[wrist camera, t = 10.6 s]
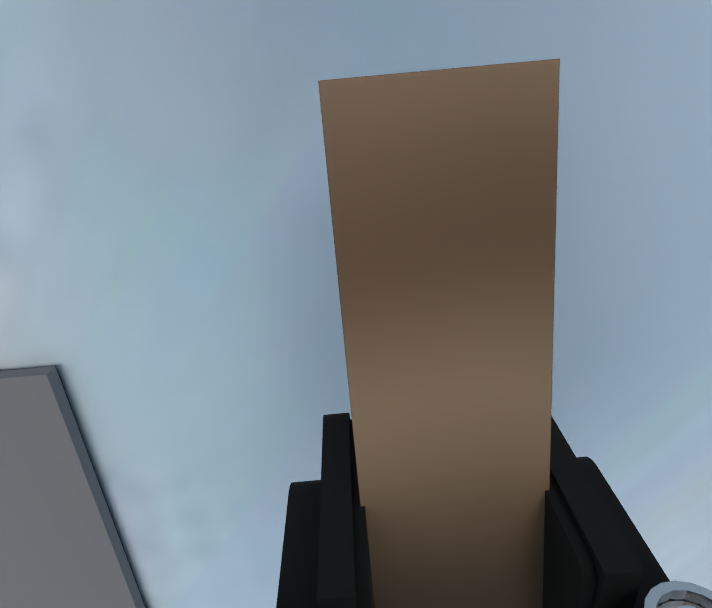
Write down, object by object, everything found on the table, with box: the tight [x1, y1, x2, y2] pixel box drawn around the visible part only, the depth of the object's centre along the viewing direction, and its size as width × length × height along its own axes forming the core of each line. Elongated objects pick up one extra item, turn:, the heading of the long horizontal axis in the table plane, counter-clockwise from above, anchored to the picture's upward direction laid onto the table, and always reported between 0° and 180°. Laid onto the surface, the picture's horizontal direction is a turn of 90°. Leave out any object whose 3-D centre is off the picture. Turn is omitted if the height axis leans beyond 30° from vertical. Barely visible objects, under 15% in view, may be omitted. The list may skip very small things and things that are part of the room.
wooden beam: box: [318, 59, 560, 608], centre depth 11 cm, size 18×6×4 cm, turn 5°
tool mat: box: [0, 366, 145, 608], centre depth 23 cm, size 24×10×1 cm, turn 5°
